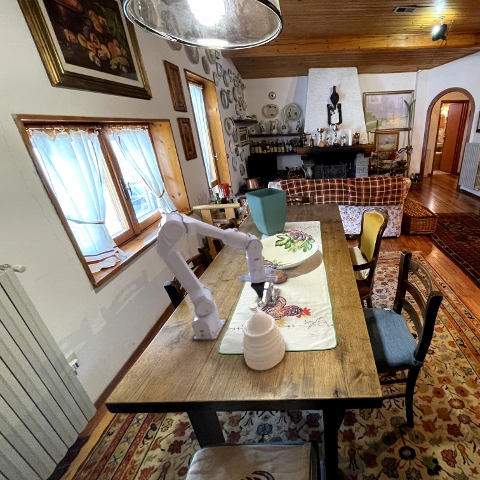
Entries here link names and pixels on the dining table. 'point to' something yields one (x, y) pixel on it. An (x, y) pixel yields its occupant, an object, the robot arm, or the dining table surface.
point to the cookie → (279, 276)
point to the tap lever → (264, 295)
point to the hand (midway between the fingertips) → (261, 296)
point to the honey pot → (262, 340)
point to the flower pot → (268, 209)
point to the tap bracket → (270, 295)
